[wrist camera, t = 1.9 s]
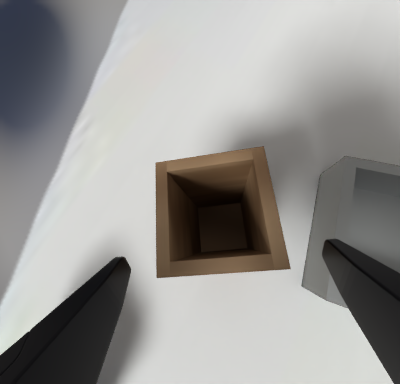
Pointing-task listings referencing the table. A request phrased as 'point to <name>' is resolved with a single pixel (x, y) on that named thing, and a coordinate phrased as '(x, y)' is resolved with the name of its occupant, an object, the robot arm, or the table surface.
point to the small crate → (217, 215)
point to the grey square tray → (354, 219)
